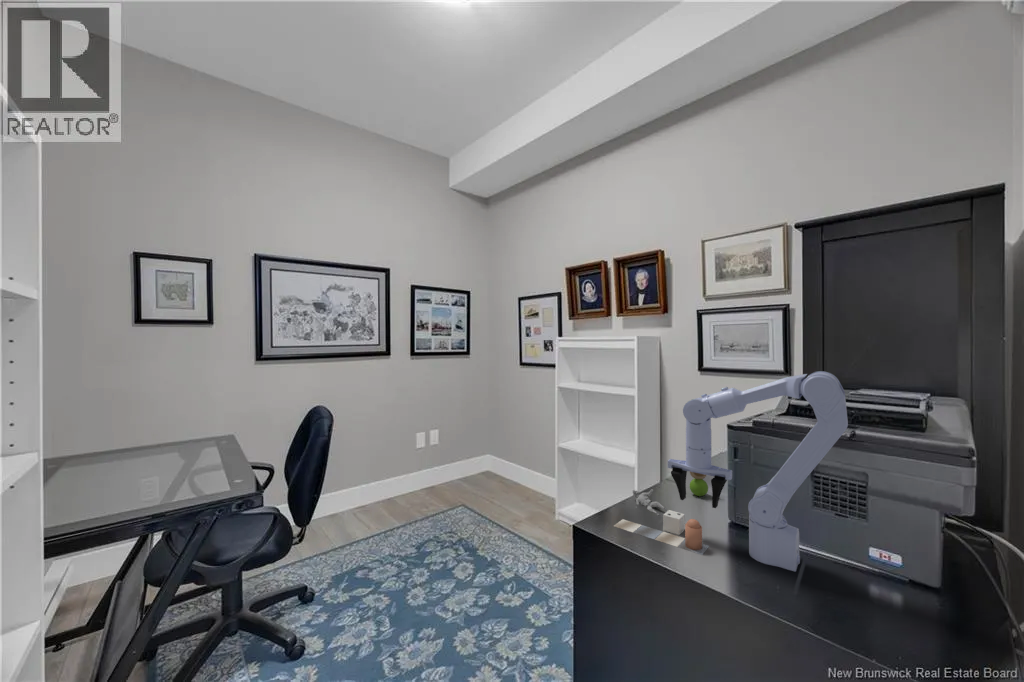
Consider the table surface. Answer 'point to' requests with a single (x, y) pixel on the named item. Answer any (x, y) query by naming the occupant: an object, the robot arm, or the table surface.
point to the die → (674, 522)
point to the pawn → (693, 535)
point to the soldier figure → (647, 501)
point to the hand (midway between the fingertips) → (698, 502)
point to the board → (657, 535)
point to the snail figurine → (698, 484)
